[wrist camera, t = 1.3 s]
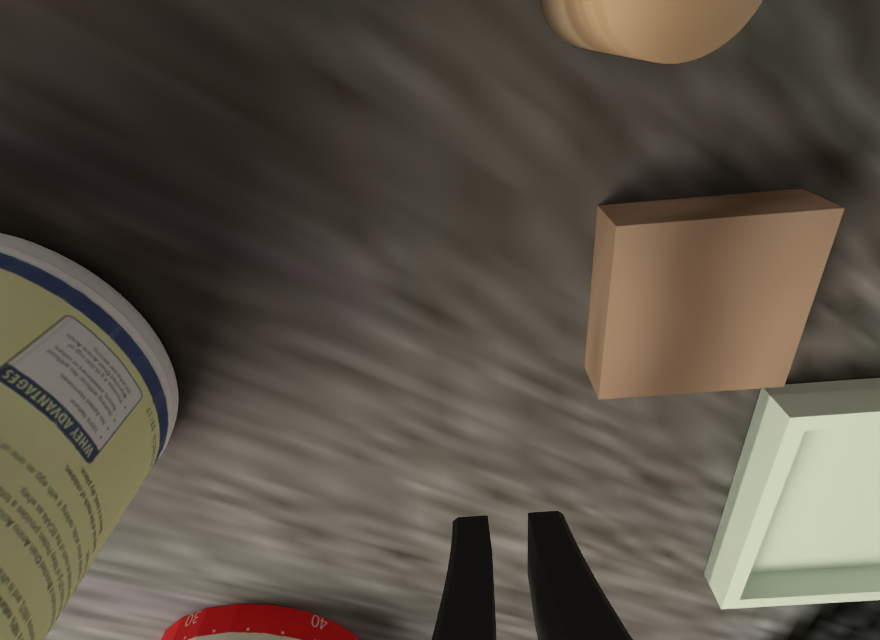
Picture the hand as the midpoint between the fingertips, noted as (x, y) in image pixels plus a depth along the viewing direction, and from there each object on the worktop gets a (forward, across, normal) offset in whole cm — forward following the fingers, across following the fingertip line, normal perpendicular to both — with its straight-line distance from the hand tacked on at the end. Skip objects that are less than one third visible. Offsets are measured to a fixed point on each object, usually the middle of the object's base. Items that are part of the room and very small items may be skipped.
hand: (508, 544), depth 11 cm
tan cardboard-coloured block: (+11, -8, 0) cm, 13 cm away
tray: (+10, -18, +12) cm, 24 cm away
